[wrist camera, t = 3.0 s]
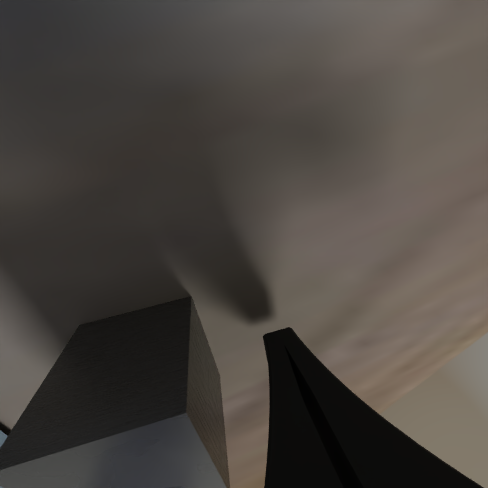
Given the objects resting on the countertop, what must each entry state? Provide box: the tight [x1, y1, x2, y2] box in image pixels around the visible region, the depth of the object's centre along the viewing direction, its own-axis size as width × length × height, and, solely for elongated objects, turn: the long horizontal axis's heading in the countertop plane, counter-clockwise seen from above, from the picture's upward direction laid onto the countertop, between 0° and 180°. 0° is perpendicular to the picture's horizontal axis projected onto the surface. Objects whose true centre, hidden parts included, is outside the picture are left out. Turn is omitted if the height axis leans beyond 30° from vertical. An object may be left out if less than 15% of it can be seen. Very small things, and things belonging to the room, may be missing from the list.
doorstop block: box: [0, 297, 230, 488], centre depth 9 cm, size 6×5×5 cm
